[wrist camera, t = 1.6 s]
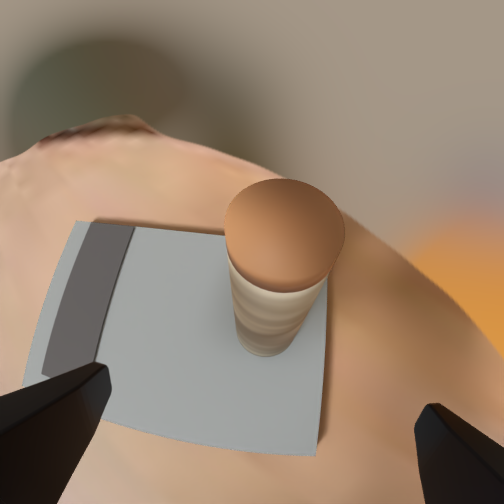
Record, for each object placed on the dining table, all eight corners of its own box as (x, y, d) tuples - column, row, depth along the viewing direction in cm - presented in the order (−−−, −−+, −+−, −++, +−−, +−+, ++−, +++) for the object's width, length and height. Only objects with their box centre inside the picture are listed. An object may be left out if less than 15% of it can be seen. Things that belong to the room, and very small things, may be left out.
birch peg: (255, 367, 17) (264, 301, 8) (225, 318, 19) (204, 205, 9) (306, 337, 18) (368, 242, 9) (275, 291, 20) (299, 165, 10)
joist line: (88, 391, 16) (86, 391, 16) (42, 374, 16) (40, 373, 16) (134, 227, 22) (133, 226, 22) (92, 223, 22) (91, 222, 22)
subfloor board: (323, 258, 23) (327, 247, 22) (310, 453, 16) (315, 456, 15) (83, 230, 24) (76, 220, 23) (33, 388, 17) (22, 385, 16)
